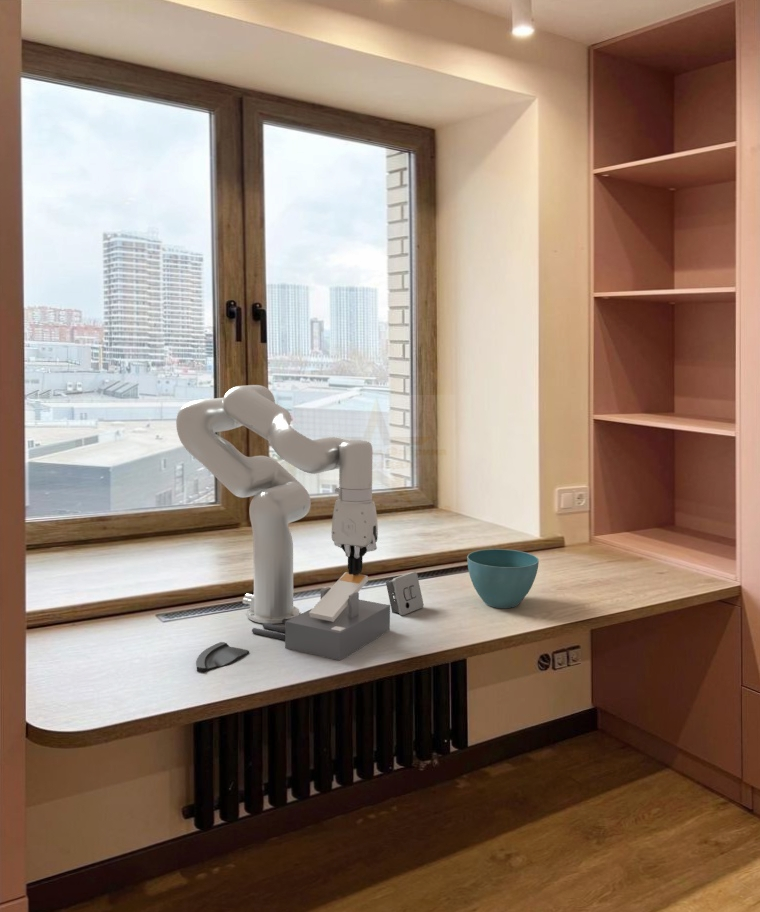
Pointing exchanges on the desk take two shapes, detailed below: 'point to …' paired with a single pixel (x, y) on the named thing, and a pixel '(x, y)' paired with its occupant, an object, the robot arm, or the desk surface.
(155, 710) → the desk surface
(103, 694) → the desk surface
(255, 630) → the three grey prongs
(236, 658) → the fan shaped piece
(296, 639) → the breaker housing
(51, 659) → the desk surface
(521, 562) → the plant pot
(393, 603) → the electrical switch
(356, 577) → the breaker rocker
